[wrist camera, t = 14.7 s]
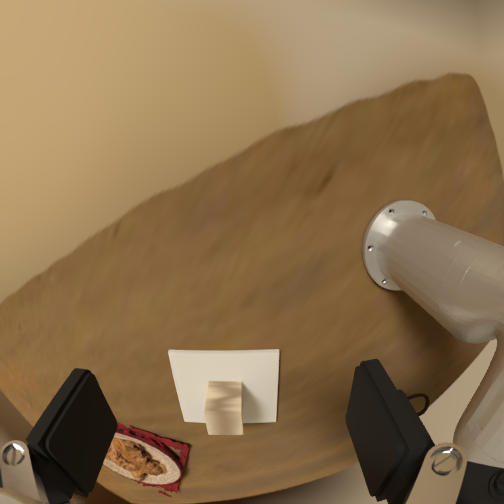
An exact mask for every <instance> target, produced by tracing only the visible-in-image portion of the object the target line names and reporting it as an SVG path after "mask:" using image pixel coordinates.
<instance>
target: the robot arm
mask: <svg viewBox="0 0 504 504" xmlns="http://www.w3.org/2000/svg"><path fill="white" fill-rule="evenodd" d="M389 210H390V212H389ZM368 246H369V248H368ZM362 251H363V261H364V265H365V268H366V270H367V272H368V274H369V275H370V276H371V278H372V279H373V280H374V281H375V282H376V283H377V284H378V285H380V286H381V287H383V288H386V289H388V290H394V291H398V290H403V291H404V292H405V293H406V294H408V295H409V296H410V297H411V298H412V299H413V300H414V301H415V302H417V303H418V304H419V305H420V306H421V307H422V308H423V309H424V310H426V311H427V312H428V313H429V314H430V315H431V316H432V317H433V318H434V319H435V320H437V321H438V322H439V323H440V324H441V325H442V326H443V327H444V328H445V329H447V330H448V331H449V332H450V333H451V334H452V335H453V336H454V337H456V338H457V339H459V340H461V341H463V342H467V343H482V342H487V341H490V340H494V339H497V348H496V351H495V354H494V356H493V359H492V361H491V363H490V366H489V368H488V370H487V372H486V374H485V376H484V378H483V380H482V381H481V383H480V385H479V387H478V389H477V391H476V392H475V394H474V396H473V397H472V399H471V401H470V402H469V404H468V406H467V408H466V409H465V411H464V413H463V415H462V416H461V418H460V420H459V422H458V424H457V427H456V430H455V432H454V438H453V443H441V444H438V445H436V446H435V444H434V443H433V441H432V439H431V437H430V435H429V434H428V432H427V430H426V428H425V427H424V425H423V423H422V422H421V420H420V418H419V416H418V415H417V413H416V411H415V410H414V408H413V406H412V405H411V403H410V401H409V400H408V398H407V396H406V395H405V393H404V392H403V391H402V390H397V389H396V388H395V386H394V384H393V383H392V381H391V379H390V378H389V376H388V374H387V373H386V371H385V369H384V368H383V366H382V365H381V363H380V361H379V360H378V359H373V360H368V361H362V362H361V363H360V366H357V367H356V368H355V373H354V379H353V385H352V390H351V395H350V400H349V405H348V410H347V414H346V424H347V427H348V430H349V433H350V436H351V439H352V442H353V445H354V448H355V451H356V454H357V457H358V460H359V463H360V465H361V469H362V472H363V475H364V478H365V481H366V484H367V487H368V490H369V493H370V495H371V496H372V497H373V496H376V499H377V501H382V500H385V499H387V502H388V504H504V247H503V246H501V245H498V244H496V243H494V242H491V241H489V240H486V239H484V238H481V237H479V236H476V235H474V234H471V233H469V232H466V231H463V230H461V229H458V228H455V227H453V226H450V225H447V224H444V223H442V222H439V221H436V219H435V217H434V215H433V214H432V213H431V211H430V210H429V209H428V208H427V207H425V206H424V205H423V204H420V203H418V202H415V201H411V200H399V201H395V202H392V203H390V204H388V205H386V206H385V207H383V208H382V209H381V210H380V211H379V212H378V213H377V214H376V215H375V216H374V218H373V219H372V221H371V222H370V224H369V226H368V228H367V230H366V233H365V236H364V240H363V248H362ZM117 427H118V424H117V420H116V418H115V416H114V415H113V413H112V411H111V409H110V407H109V405H108V403H107V401H106V399H105V397H104V395H103V393H102V390H101V388H100V386H99V384H98V382H97V379H96V377H95V375H94V374H92V373H91V371H90V370H87V369H79V368H76V369H74V370H73V371H72V372H71V374H70V375H69V377H68V378H67V379H66V381H65V382H64V384H63V385H62V386H61V388H60V389H59V391H58V392H57V393H56V395H55V396H54V398H53V399H52V401H51V402H50V404H49V405H48V406H47V408H46V409H45V411H44V412H43V414H42V415H41V417H40V418H39V420H38V421H37V423H36V424H35V426H34V428H33V429H32V431H31V432H30V434H29V435H28V437H27V439H26V441H27V442H28V445H27V446H26V445H25V444H24V443H23V442H21V441H18V440H14V441H10V442H8V443H6V444H5V445H4V446H3V447H2V449H1V451H0V504H75V503H74V500H73V498H72V495H73V493H75V494H77V495H80V496H83V497H85V498H87V496H88V493H90V492H92V490H93V488H94V486H95V483H96V480H97V478H98V475H99V472H100V470H101V467H102V465H103V462H104V460H105V457H106V455H107V452H108V450H109V447H110V445H111V442H112V440H113V438H114V435H115V433H116V430H117Z"/></svg>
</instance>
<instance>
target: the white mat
mask: <svg viewBox="0 0 504 504" xmlns="http://www.w3.org/2000/svg"><path fill="white" fill-rule="evenodd" d="M168 354H169V359H170V363H171V368H172V372H173V377H174V381H175V386H176V390H177V394H178V398H179V402H180V406H181V410H182V413H183V417H184V421H185V422H201V423H206V421H205V416H204V410H205V403H206V396H207V389H208V382H209V381H242V396H243V423H263V422H276V414H277V394H278V371H279V349H270V350H235V351H200V350H169V351H168Z"/></svg>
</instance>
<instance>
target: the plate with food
mask: <svg viewBox="0 0 504 504" xmlns="http://www.w3.org/2000/svg"><path fill="white" fill-rule="evenodd" d="M130 426H131V425H130ZM164 444H165V445H166V446H169V447H170V446H172V447H174V448H175V449H179V450H180V449H181V452H180V453H181V456H179V458H181V459H178V458H177V457H176V456H175V455H174V453H172V452H171V451H170V450H169V449H168V448H167V447H166V446H165V445H164ZM189 448H190V447H188V446H187V445H186V444H182V443H179V442H173V441H171V440H169V439H165V438H162V437H159V436H154V434H151V433H148V432H146V431H143V430H140V429H135V428H133V426H131V428H130V429H129V428H126V427H125V426H123V425H122V424H120V423H118V427H117V430H116V433H115V435H114V438H113V440H112V442H111V445H110V447H109V450H108V452H107V455H106V457H105V460H104V462H103V465H105V466H106V467H108V468H111V470H113V471H114V472H116V473H119V474H120V475H122V476H124V477H127V478H130V479H132V480H135V481H137V482H138V484H139V483H143V486H152V487H155V486H159V487H163V488H164V489H165V490H168V491H171V492H172V491H174V492H176V493H177V490H178V485H179V482H180V479H181V477H182V473H183V469H184V465H185V462H186V458H187V454H188V451H189ZM102 467H103V466H102ZM159 487H157V488H159ZM165 490H164V491H165ZM158 491H159V490H158ZM159 493H162V494H164V495H167V496H169V497H171V496H170V495H168V494H166V493H165V492H162V491H159Z"/></svg>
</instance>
